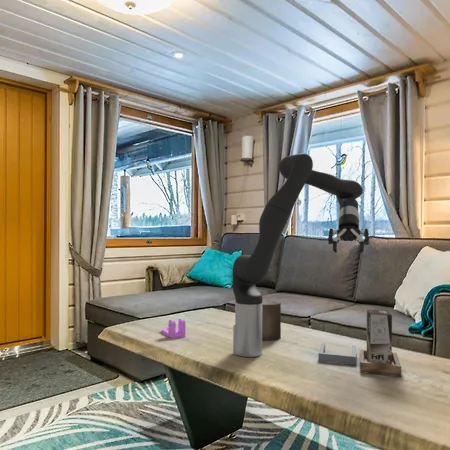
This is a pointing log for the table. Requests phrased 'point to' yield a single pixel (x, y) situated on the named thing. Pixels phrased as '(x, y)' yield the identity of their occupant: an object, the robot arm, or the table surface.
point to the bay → (337, 356)
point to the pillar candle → (271, 320)
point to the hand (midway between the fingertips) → (348, 251)
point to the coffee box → (379, 336)
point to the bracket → (172, 330)
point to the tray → (380, 365)
